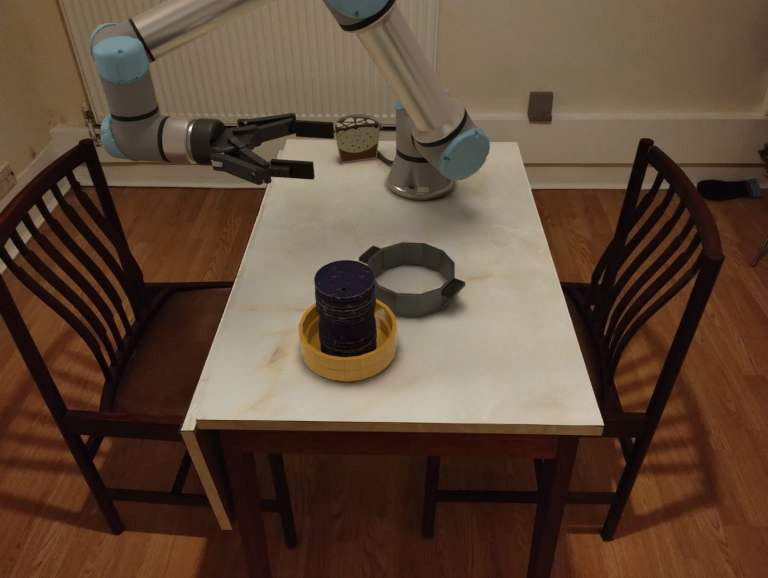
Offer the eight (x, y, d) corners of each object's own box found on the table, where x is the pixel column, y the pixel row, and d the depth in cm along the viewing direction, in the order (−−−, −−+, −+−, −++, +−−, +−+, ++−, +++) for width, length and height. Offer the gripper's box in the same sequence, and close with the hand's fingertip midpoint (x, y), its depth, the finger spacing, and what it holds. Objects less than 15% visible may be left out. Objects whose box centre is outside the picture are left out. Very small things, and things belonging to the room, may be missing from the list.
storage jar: (322, 326, 119) (316, 259, 109) (377, 326, 119) (375, 259, 109) (317, 367, 111) (310, 298, 102) (376, 366, 111) (375, 298, 102)
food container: (376, 146, 173) (375, 110, 167) (382, 157, 169) (382, 120, 162) (330, 152, 171) (327, 116, 164) (335, 164, 166) (332, 126, 160)
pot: (341, 291, 127) (340, 271, 124) (389, 249, 138) (389, 229, 135) (434, 333, 118) (435, 312, 115) (478, 285, 128) (480, 264, 125)
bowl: (288, 333, 118) (285, 310, 115) (372, 307, 124) (371, 284, 120) (321, 396, 107) (319, 372, 103) (412, 364, 112) (413, 340, 109)
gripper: (227, 128, 121) (341, 135, 118) (171, 201, 102) (306, 211, 99) (220, 89, 116) (339, 95, 113) (160, 157, 97) (301, 166, 94)
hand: (324, 149), depth 106 cm, fingers open, 13 cm apart
